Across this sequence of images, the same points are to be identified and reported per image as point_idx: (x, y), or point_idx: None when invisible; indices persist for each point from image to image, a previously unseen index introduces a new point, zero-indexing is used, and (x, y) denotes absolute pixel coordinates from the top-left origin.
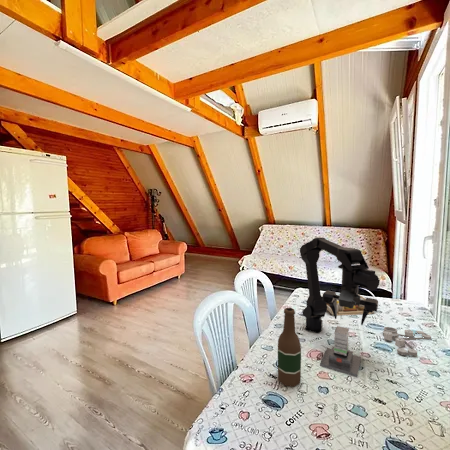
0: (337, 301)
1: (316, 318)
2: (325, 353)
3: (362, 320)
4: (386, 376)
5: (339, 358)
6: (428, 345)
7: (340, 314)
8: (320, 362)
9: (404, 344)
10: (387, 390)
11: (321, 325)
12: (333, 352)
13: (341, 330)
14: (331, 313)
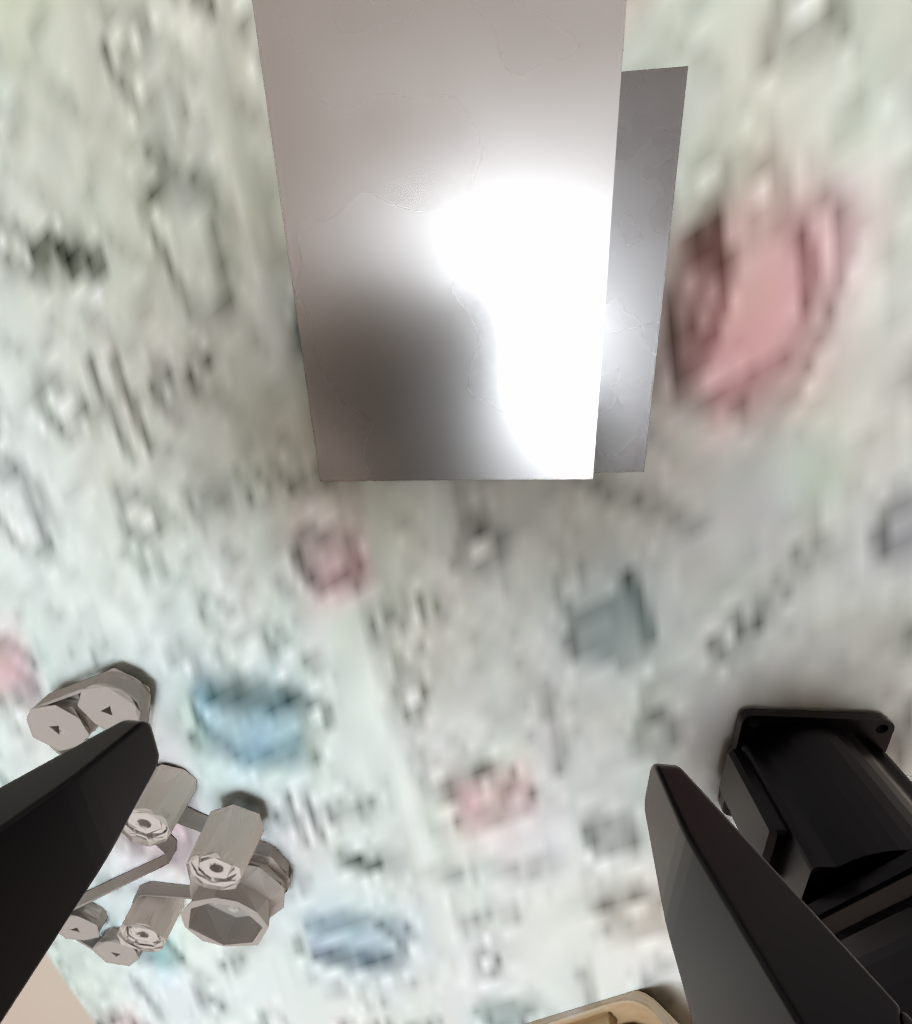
0: None
1: (855, 864)
2: (647, 340)
3: (9, 806)
4: (115, 312)
5: None
6: None
7: (596, 1015)
8: (683, 88)
9: None
10: (38, 67)
11: (748, 799)
12: None
13: (446, 259)
14: (665, 1010)
